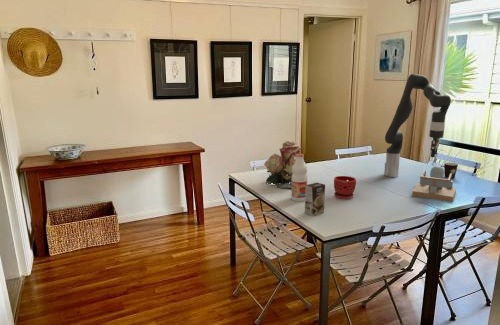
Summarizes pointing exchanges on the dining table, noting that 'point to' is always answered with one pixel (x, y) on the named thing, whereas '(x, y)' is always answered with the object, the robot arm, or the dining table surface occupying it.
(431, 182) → the thin wooden rail frame
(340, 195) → the plant pot
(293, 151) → the rose bouquet
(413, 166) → the dining table surface
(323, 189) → the coffee box
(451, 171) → the coffee mug
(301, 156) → the fruit juice
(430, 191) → the wooden peg board
